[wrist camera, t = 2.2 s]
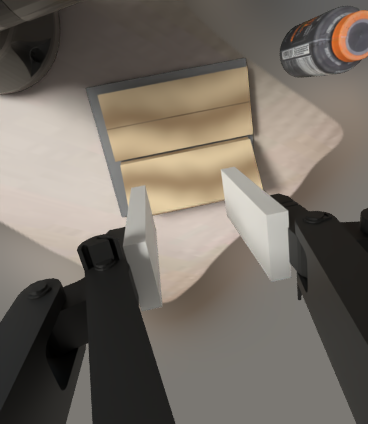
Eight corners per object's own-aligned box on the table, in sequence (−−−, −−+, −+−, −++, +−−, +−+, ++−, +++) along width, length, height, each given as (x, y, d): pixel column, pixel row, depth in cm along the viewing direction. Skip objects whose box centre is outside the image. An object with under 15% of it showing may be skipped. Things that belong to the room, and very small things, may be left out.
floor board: (98, 94, 36) (97, 94, 35) (244, 67, 37) (247, 66, 36) (116, 159, 39) (115, 161, 38) (250, 132, 40) (253, 134, 39)
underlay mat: (86, 88, 36) (85, 88, 36) (244, 57, 37) (245, 57, 36) (122, 216, 42) (122, 217, 42) (256, 188, 43) (257, 188, 43)
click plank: (121, 163, 39) (119, 160, 38) (247, 137, 40) (248, 134, 39) (132, 220, 38) (130, 219, 37) (261, 192, 39) (263, 190, 38)
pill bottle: (316, 14, 36) (386, -19, 26) (329, 63, 38) (399, 51, 28) (271, 39, 36) (322, 18, 26) (287, 86, 39) (340, 84, 28)
